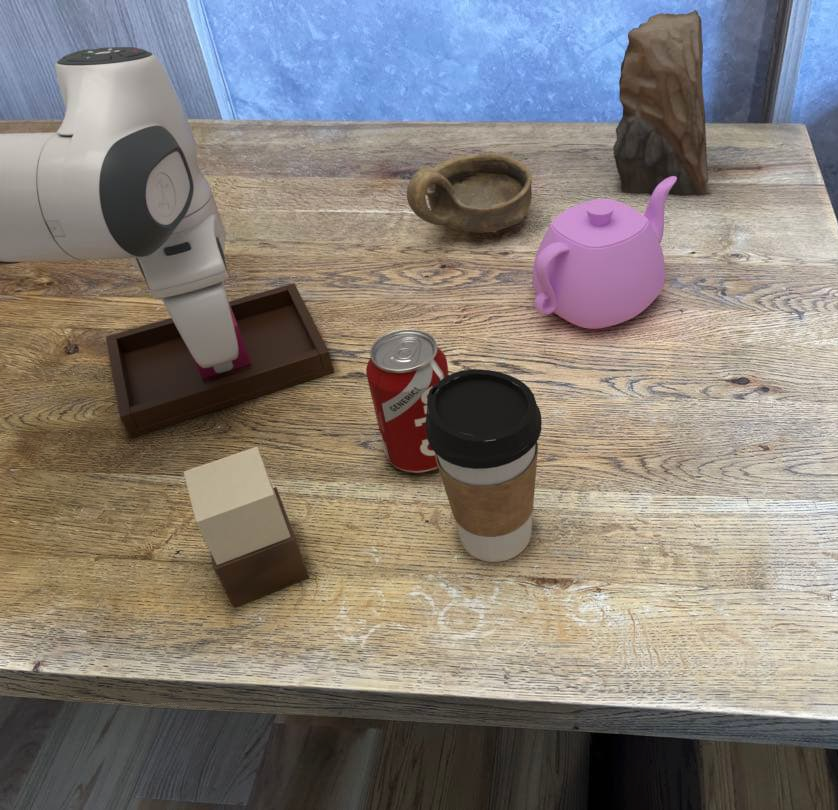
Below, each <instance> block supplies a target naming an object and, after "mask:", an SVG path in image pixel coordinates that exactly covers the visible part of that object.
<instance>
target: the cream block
mask: <svg viewBox="0 0 838 810" xmlns="http://www.w3.org/2000/svg"><path fill="white" fill-rule="evenodd" d="M266 467H267V466H266V465H265V462H264V460H263V456H262V454H261V451H260V449H259V447H258V446H254V447H251V448H249V449H245V450H243V451H240V452H237V453H234V454H230V455H228V456H225V457H222V458H219V459H216V460H213V461H211V462H207V463H205V464H202V465H198V466H196V467H192V468H189V469H186V470H184V471H183V476H184V480H185V484H186V488H187V492H188V493H187V494H188V496H189V500H190V505H191V508H192V513H193V517H194V521H195V524H196V525H197V528H198V530H199V532H200V534H201V536H202V538H203V540H204V543H205V544H206V546H207V548H208V550H209V553H210V552H211V554H212V556H213V558H214V560H215V562H216V564H217V565H219V564H222V563H224V562H227V561H230V560H232V559H235V558H238V557H240V556H243V555H245V554H248V553H251V552H253V551H256V550H259V549H261V548H264V547H266V546H269V545H272V544H274V543H277V542H280V541H282V540H285V539H287V538H290V534H289V531H288V528H287V525H286V522H285V520H284V517H283V514H282V511H281V508H280V505H279V502H278V500H277V497H276V494H275V491H274V488H275V487H274V486H273V483H272V481H271V478H270V476H269V473H268V470H267V468H266ZM211 554H210V555H211Z"/></svg>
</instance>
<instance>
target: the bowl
mask: <svg viewBox="0 0 838 810" xmlns="http://www.w3.org/2000/svg"><path fill="white" fill-rule="evenodd" d="M532 183H533V175H532V173H531V170H530V169H529V168H528V167H527V166H526V165H525V164H523V163H522V162H521V161H519V160H517V159H515V158H514V157H512V156H509V155H506V154H503V153H502V154H501V153H494V152H485V153H484V152H483V153H479V154H469V155H468V154H467V155H457V156H455V157H452V158H449V159H447V160H445V161H442V162H441V163H438V165H436V166H435V167H434V168H432V169H431V168H428V167H425V168H421V169H419V170H418V171H416V172H415V173H414V174H413V175H412V177H411V178H410V180H409V181H408V185H407V188H406V200H407V203H408V205H409V207H410V209H411V211H412V212H413V213H414V214H415V215H416V216H417V217H418V218H420V219H421V220H423V221H425V222H427V223H429V224H431V225H432V224H433V225H435V226H440V227H441V226H442V227H445V228H447V229H453V230H458V231H463V232H468V233H477V234H479V233H482V234H483V233H491V232H492V233H496V232H497V231H499V230H502V229H506V228H509V227H511V226H513V225H514V226H515V225H516V224H519V223H520V222H522V221H523V220H524V219H525V217H526V215H527V213H528V212H529V209H530V206H531V202H532V197H533V192H532V191H533V190H532ZM426 197H427V199H428V204H429V206H428V204H427V199H426Z"/></svg>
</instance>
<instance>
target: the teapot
mask: <svg viewBox="0 0 838 810" xmlns="http://www.w3.org/2000/svg"><path fill="white" fill-rule="evenodd" d="M676 180H677V177H676V176H671V177H668V178H666V179H665V180H663V181H662V182H661V183H660V184H658V186H657V187H656V188H655V190H654V192H653V194H651V196H650V198H649V201H648V203H647V205H646V209H645V211H644V213H641V212H640V211H639V210H637V209H635V208H633V207H631V206H630V205H627V204H625V203H622V202H620V201H617V200H614V199H610V198H598V199H597V198H596V199H593V200H588V201H584V202H582V203H578V204H575V205H573V206H571V207H569V208H568V209H566V210H564V211H562V212H561V213H560V214H558V215H557V216H556V217H555V218H554V219H553V220H552V221H551V223H550V224H549V226H548V227H547V229H546V231H545V234H544V235H543V238H542V239H541V242H540V244H539V246H538V247H537V250H536V253H535V257H534V261H533V265H532V266H533V268H532V275H531V284H532V288H533V290H534V292H535V295H536V297H535V298H534V301H533V307H534V309H535V311H536V312H537V313H538V314H540V315H550V314H553V313H554V314H555V315H557V316H558V317H559V318H562V319H563V320H565V321H567V322H569V323H571V324H572V325H574V326H577V327H580V328H585V329H590V330H592V329H604V328H609V327H613V326H616V325H618V324H622V323H624V322H627V321H629V320H631V319H633V318H635V317H637V316H638V315H639V314H641V313H642V312H644V311H645V310H646V309H647V308H648V307H649V306H650V305H652V303H653V302H654V301H655V300H656V299H657V297H658V296H659V295H660V294H661V292H662V290H663V289H664V286H665V284H666V264H665V257H664V256H665V255H664V253H663V248H662V246H661V243H662V240H663V238H664V230H665V209H666V201H667V198H668V195H669V194H668V193H669V191H670V189H671V188H672V186H673V185H674V184H675V182H676Z"/></svg>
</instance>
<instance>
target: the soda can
mask: <svg viewBox="0 0 838 810" xmlns="http://www.w3.org/2000/svg"><path fill="white" fill-rule="evenodd" d="M369 357H370V358H369V360H368V362H367V364H366V369H365V373H366V378H367V383H368V387H369V392H370V395H371V400H372V404H373V408H374V413H375V417H376V418H375V419H376V421H377V426H378V430H379V435H380V439H381V444H382V448H383V451H384V452H383V453H384V456H385V458H386V460H387V461H388V463H389V464H390V465H391V466H393V467H394V468H395V469H398V470H401V471H403V472H407V473H415V474H416V473H417V474H419V473H426V472H427V473H428V472H432V471H434V470H437V469H439V468H438V465H437V462H436V457H435V452H434V451H433V449H432V448H431V447H430V445H429V442H428V440H427V433H426V427H425V423H426V416H427V399H428V394H429V391H430V389H431V388H432V387H433V386H434V385H436V384H437V383H438V382H439V381H440V380H442V379H443V378H445V377H447V376H448V375H450V373H449V372H450V371H449V365H448V360H447V356H446V355H445V353H444V351H443V350H442V349H441V348H440V347H439V346H438V343H437V340H436V339H435V338H434V336H433V335H432V334H430V333H429V332H426V331H424V330H421V329H416V328H401V329H400V328H399V329H396V330H392V331H390V332H387V333H385V334H383V335H382V336H380V337H379V338H377V339H376V340H375V341H374V342H373V344H372V345H371V347H370V350H369Z"/></svg>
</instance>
